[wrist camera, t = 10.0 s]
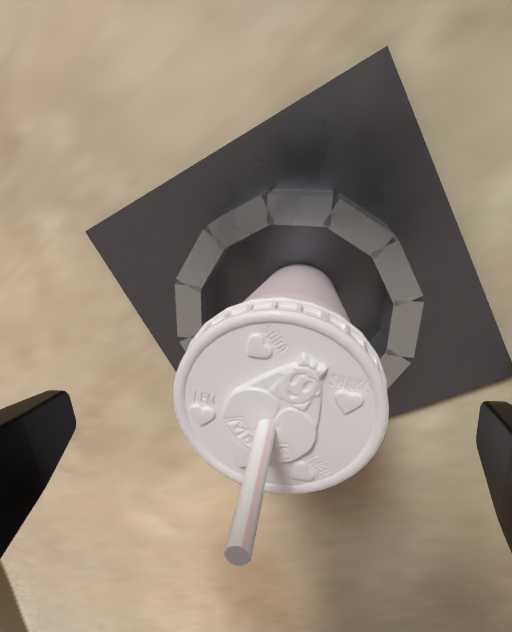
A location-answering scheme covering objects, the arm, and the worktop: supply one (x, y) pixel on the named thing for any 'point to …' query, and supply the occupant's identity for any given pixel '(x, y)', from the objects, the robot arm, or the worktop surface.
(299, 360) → the smoothie
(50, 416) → the robot arm
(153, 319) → the duct collar
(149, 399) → the worktop surface
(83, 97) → the worktop surface
